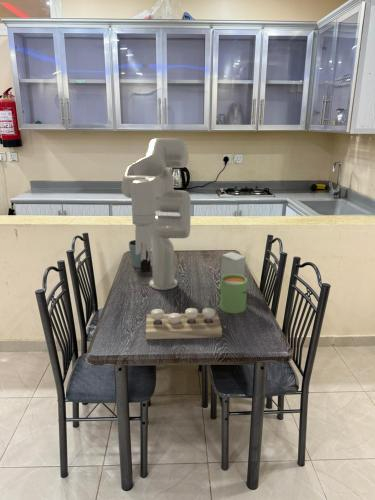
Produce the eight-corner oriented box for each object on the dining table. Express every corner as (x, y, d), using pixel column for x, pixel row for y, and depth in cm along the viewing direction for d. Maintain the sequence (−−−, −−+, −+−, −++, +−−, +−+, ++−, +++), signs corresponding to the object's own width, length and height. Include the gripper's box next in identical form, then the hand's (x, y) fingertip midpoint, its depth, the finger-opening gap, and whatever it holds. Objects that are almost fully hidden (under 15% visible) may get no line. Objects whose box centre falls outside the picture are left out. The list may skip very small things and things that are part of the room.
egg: (201, 320, 143) (201, 307, 141) (213, 319, 143) (214, 307, 141) (202, 326, 139) (203, 313, 137) (215, 326, 139) (215, 313, 137)
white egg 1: (168, 325, 143) (168, 313, 141) (180, 325, 143) (180, 312, 141) (168, 331, 139) (168, 319, 137) (181, 331, 139) (181, 318, 137)
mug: (246, 314, 152) (247, 285, 148) (218, 312, 153) (219, 283, 149) (247, 299, 163) (249, 273, 159) (222, 297, 165) (223, 271, 161)
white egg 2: (185, 320, 142) (185, 308, 141) (197, 320, 143) (197, 307, 141) (185, 326, 138) (185, 314, 137) (198, 326, 139) (198, 313, 137)
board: (147, 321, 146) (147, 314, 145) (217, 319, 147) (217, 312, 146) (145, 339, 135) (145, 331, 134) (221, 337, 136) (222, 329, 135)
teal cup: (145, 269, 194) (144, 246, 190) (126, 267, 197) (125, 244, 193) (152, 262, 204) (152, 240, 200) (134, 260, 206) (133, 238, 202)
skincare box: (219, 287, 174) (220, 254, 169) (229, 283, 178) (231, 251, 173) (234, 294, 168) (235, 259, 163) (244, 289, 173) (246, 256, 167)
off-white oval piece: (151, 321, 142) (151, 309, 140) (164, 321, 142) (163, 308, 140) (151, 327, 138) (150, 315, 136) (164, 327, 138) (163, 314, 136)
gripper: (134, 213, 135) (136, 263, 141) (129, 224, 120) (132, 280, 126) (156, 213, 135) (157, 263, 141) (154, 224, 121) (155, 280, 127)
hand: (145, 271), depth 134 cm, fingers closed
